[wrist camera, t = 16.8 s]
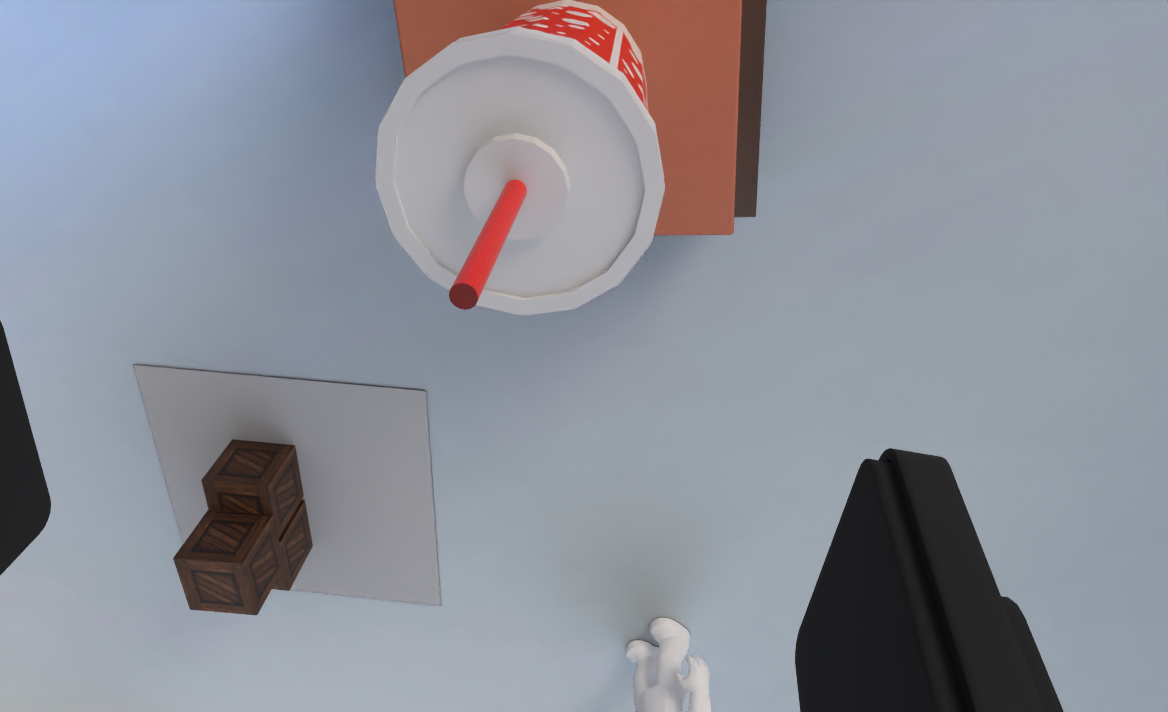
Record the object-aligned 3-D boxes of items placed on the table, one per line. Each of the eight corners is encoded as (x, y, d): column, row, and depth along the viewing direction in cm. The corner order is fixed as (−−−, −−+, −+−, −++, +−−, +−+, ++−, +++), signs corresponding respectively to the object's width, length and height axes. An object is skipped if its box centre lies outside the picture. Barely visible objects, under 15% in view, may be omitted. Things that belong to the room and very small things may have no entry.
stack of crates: (440, 605, 50) (408, 706, 44) (192, 578, 51) (129, 674, 45) (426, 390, 42) (383, 478, 37) (133, 364, 44) (48, 446, 38)
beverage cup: (426, 79, 26) (204, 286, 14) (565, -81, 23) (435, 5, 11) (571, 218, 28) (482, 505, 16) (715, 84, 25) (739, 306, 13)
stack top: (739, -127, 26) (746, -121, 22) (728, 191, 31) (733, 235, 28) (415, -108, 27) (376, -100, 24) (456, 195, 32) (429, 238, 29)
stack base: (764, -168, 29) (775, -168, 25) (748, 175, 35) (755, 217, 31) (418, -146, 31) (379, -143, 27) (461, 180, 37) (435, 221, 33)
